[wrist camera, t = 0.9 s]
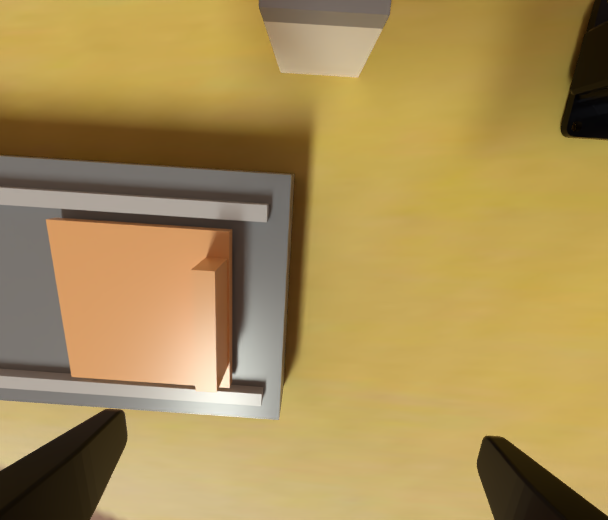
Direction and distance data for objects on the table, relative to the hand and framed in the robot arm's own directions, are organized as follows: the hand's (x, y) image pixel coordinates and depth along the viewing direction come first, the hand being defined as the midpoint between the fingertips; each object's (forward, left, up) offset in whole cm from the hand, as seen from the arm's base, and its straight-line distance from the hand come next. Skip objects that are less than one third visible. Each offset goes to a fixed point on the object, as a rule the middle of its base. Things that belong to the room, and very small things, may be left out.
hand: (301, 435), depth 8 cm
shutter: (+8, +1, -9) cm, 12 cm away
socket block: (+12, +1, -12) cm, 17 cm away
